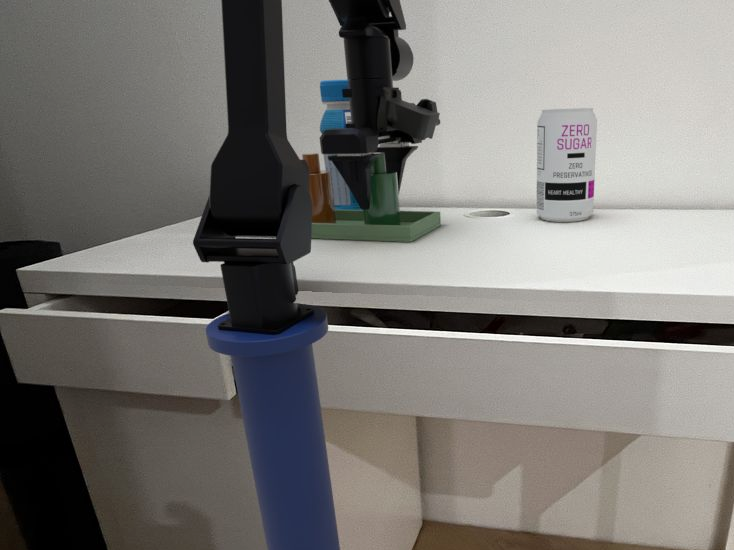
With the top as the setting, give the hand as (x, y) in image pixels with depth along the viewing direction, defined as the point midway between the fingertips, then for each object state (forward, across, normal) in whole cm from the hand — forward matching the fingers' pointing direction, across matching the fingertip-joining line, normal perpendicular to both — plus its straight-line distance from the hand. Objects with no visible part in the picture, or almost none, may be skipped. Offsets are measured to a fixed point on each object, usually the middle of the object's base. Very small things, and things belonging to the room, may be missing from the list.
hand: (380, 203), depth 85 cm
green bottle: (+3, 0, 0) cm, 3 cm away
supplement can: (+4, +14, -23) cm, 27 cm away
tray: (+4, 0, +9) cm, 10 cm away
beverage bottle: (+4, +13, +11) cm, 17 cm away
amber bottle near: (+3, 0, +10) cm, 11 cm away
